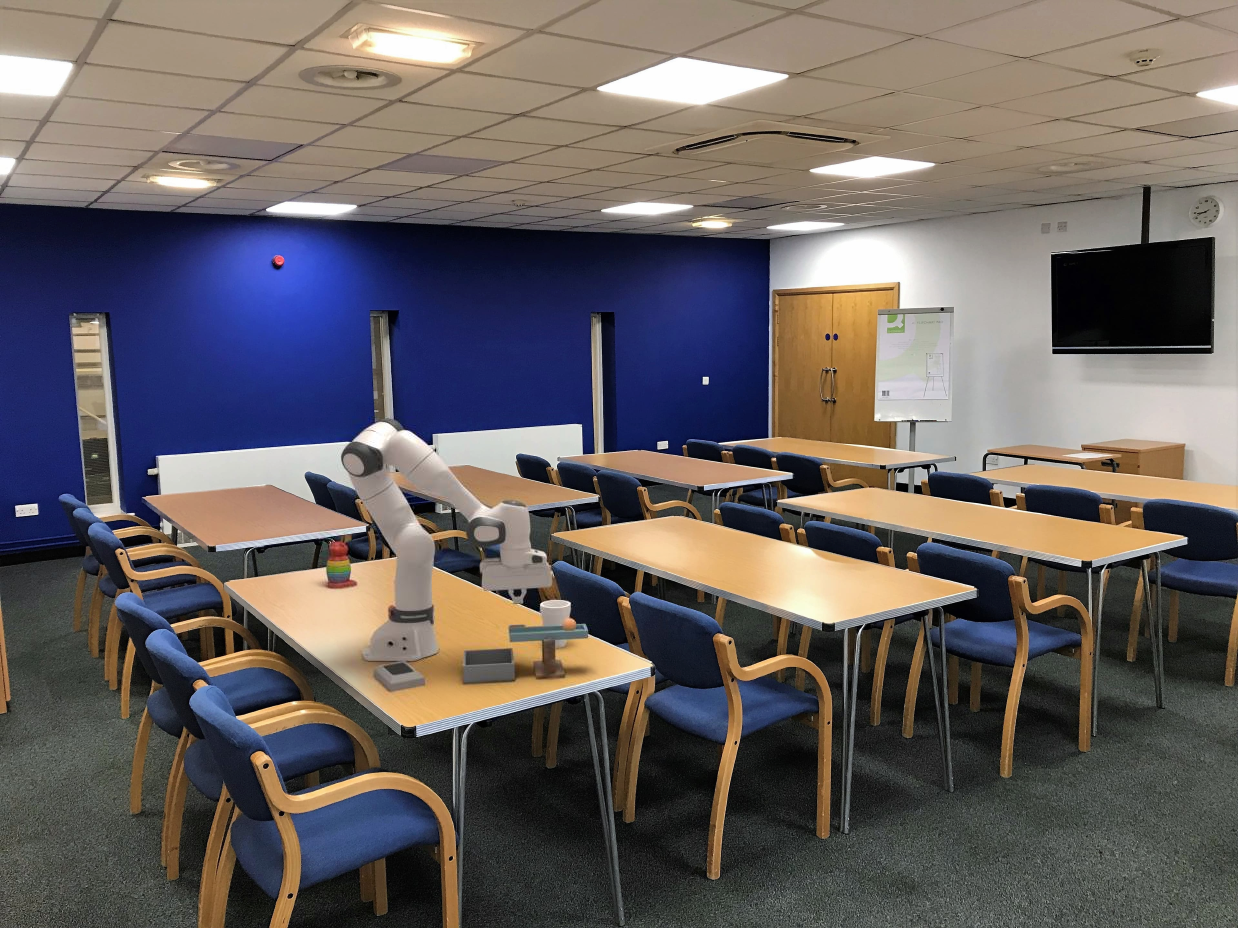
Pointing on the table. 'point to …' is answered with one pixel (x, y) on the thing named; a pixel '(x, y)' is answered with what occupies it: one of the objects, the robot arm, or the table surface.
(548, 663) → the pivot stand
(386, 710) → the table surface
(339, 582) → the stacking bear
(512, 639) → the chute lever
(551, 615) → the foam cup
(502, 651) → the tray
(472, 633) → the table surface
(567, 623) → the ball
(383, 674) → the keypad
